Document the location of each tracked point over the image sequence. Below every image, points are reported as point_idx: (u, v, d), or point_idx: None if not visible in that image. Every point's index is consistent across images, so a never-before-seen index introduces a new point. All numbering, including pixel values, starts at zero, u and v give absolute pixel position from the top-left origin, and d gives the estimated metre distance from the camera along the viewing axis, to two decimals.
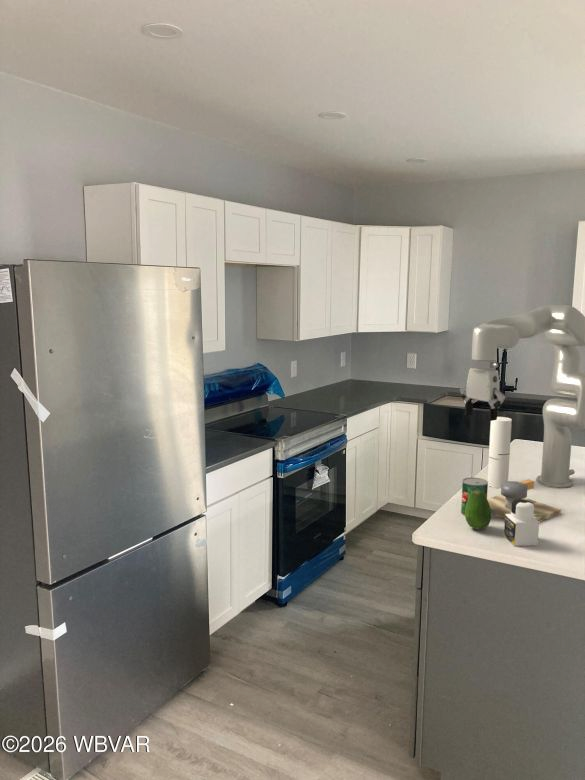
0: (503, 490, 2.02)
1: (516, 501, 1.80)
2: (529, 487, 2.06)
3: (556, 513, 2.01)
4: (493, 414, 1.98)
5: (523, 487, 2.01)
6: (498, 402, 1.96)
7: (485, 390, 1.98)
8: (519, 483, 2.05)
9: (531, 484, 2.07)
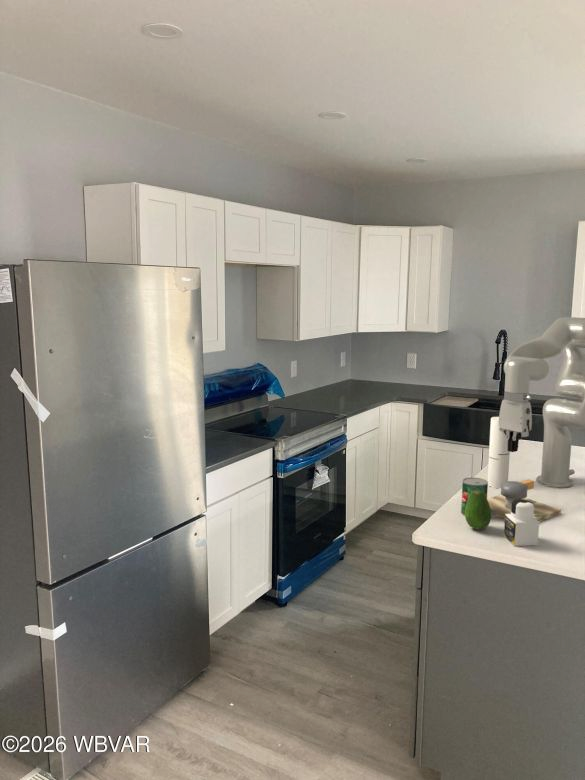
0: (503, 490, 2.02)
1: (516, 501, 1.80)
2: (529, 487, 2.06)
3: (556, 513, 2.01)
4: (514, 446, 2.08)
5: (523, 487, 2.01)
6: (519, 435, 2.06)
7: (518, 422, 2.04)
8: (519, 483, 2.05)
9: (531, 484, 2.07)
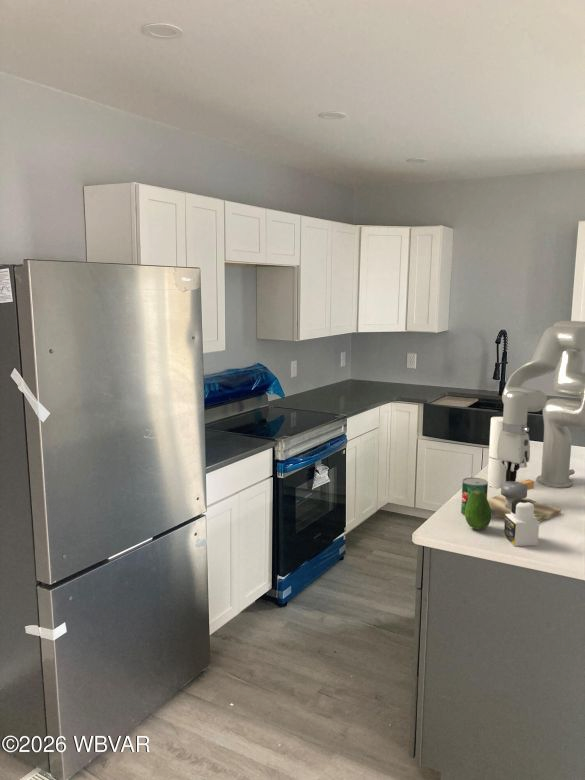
0: (503, 490, 2.02)
1: (516, 501, 1.80)
2: (529, 487, 2.06)
3: (556, 513, 2.01)
4: (512, 476, 2.10)
5: (523, 487, 2.01)
6: (517, 466, 2.08)
7: (516, 453, 2.06)
8: (519, 483, 2.05)
9: (531, 484, 2.07)
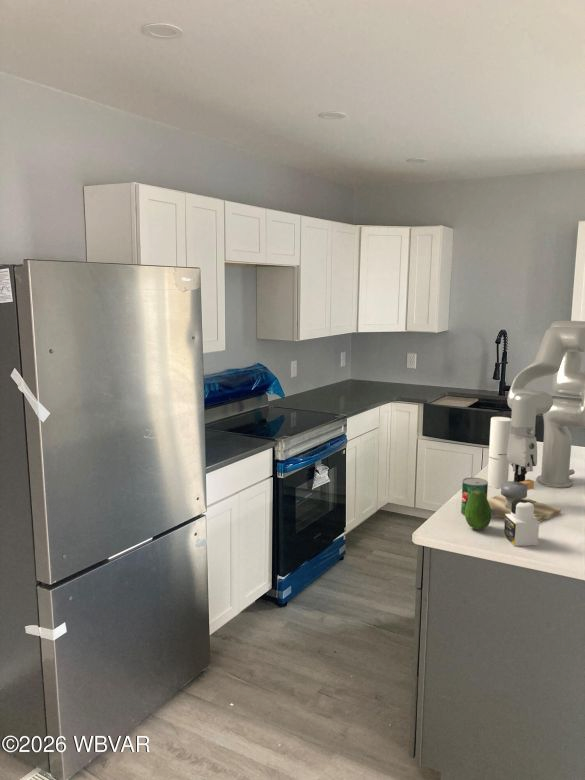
0: (503, 490, 2.02)
1: (516, 501, 1.80)
2: (529, 487, 2.06)
3: (556, 513, 2.01)
4: (520, 480, 2.08)
5: (523, 487, 2.01)
6: (524, 469, 2.05)
7: (521, 456, 2.04)
8: (519, 483, 2.05)
9: (531, 484, 2.07)
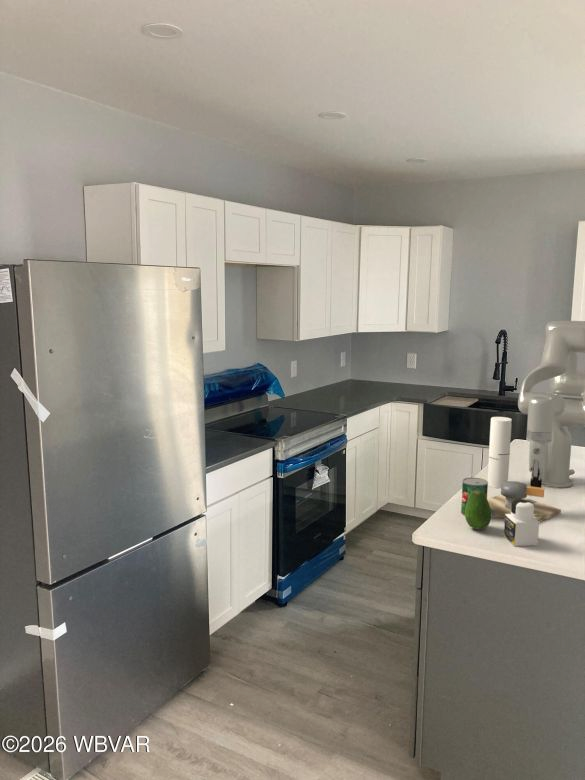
0: None
1: (516, 501, 1.80)
2: (535, 494, 2.00)
3: (556, 513, 2.01)
4: (533, 485, 2.02)
5: (515, 488, 2.00)
6: (533, 474, 2.00)
7: None
8: (523, 486, 2.02)
9: (539, 492, 1.99)
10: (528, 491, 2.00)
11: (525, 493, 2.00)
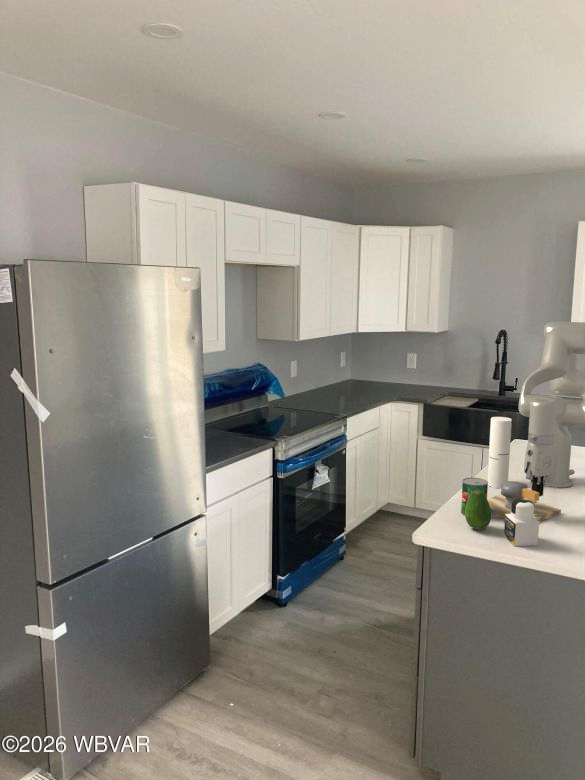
0: None
1: (516, 501, 1.80)
2: (528, 497, 1.97)
3: (556, 513, 2.01)
4: None
5: (509, 487, 2.01)
6: None
7: None
8: (521, 487, 2.01)
9: (531, 495, 1.96)
10: (522, 493, 1.99)
11: (519, 494, 1.99)
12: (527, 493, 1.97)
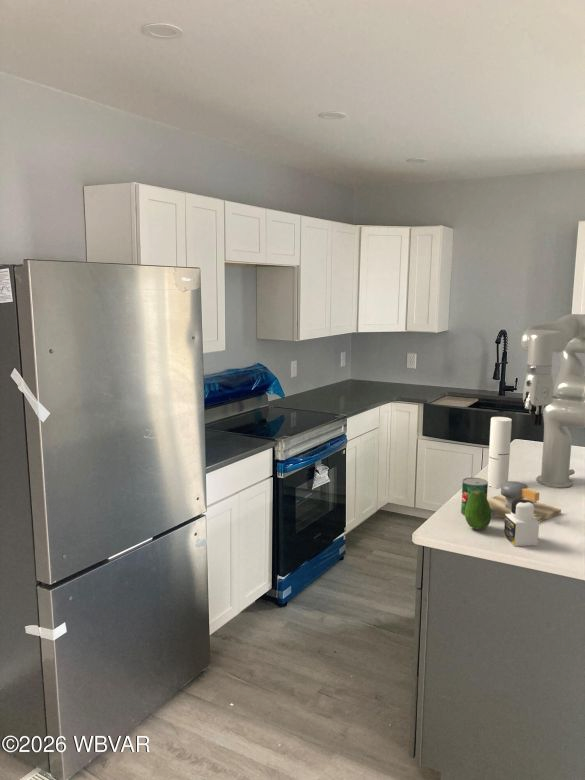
0: None
1: (516, 501, 1.80)
2: (528, 497, 1.97)
3: (556, 513, 2.01)
4: None
5: (509, 487, 2.01)
6: None
7: None
8: (521, 487, 2.01)
9: (531, 495, 1.96)
10: (522, 493, 1.99)
11: (519, 494, 1.99)
12: (527, 493, 1.97)
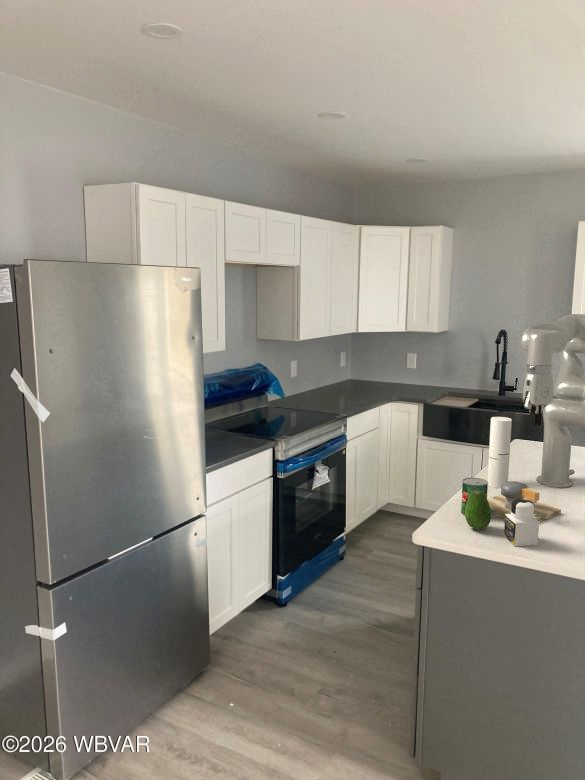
0: None
1: (516, 501, 1.80)
2: (528, 497, 1.97)
3: (556, 513, 2.01)
4: None
5: (509, 487, 2.01)
6: None
7: None
8: (521, 487, 2.01)
9: (531, 495, 1.96)
10: (522, 493, 1.99)
11: (519, 494, 1.99)
12: (527, 493, 1.97)
